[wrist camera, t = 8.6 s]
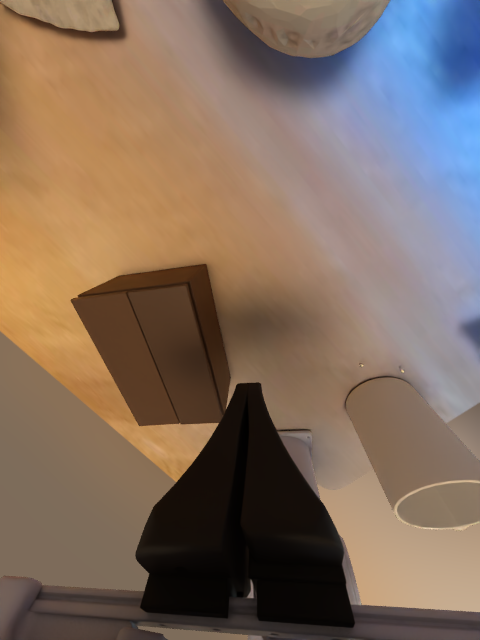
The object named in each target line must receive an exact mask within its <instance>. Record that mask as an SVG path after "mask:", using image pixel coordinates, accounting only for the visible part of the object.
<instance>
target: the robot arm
mask: <svg viewBox="0 0 480 640" xmlns="http://www.w3.org/2000/svg"><path fill="white" fill-rule="evenodd" d="M136 559H137V561H138V562H139V564H141V566H142V567H143V568H144V569H145V570H146V571H147V572H148V573H149V577H148V581H147V584H146V588H145V591H128V590H111V589H96V588H80V587H63V586H48V585H42V583H41V582H39V581H38V580H35V579H33V578H28V577H16V576H3V577H1V578H0V640H167V639H166V638H165V637H164V636H163V634H160V633H155V632H150V631H145V630H140V629H138V627H137V626H149V627H160V628H172V629H184V630H196V631H208V632H219V633H231V634H243V635H248V640H480V612H466V611H450V610H434V609H418V608H402V607H386V606H369V605H361V600H360V596H359V592H358V588H357V584H356V580H355V576H354V572H353V569H352V565H351V561H350V558H349V555H348V552H347V548H346V545H345V543H344V540H343V538H342V537H341V536H340V535H339V534H338V532H337V530H336V527H335V525H334V524H333V521H332V519H331V517H330V515H329V513H328V511H327V510H326V508H325V506H324V504H323V503H322V502H321V500H320V496H319V492H318V487H317V483H316V479H315V474H314V470H313V465H312V433H311V431H308V430H306V431H277V430H276V428H275V426H274V424H273V422H272V420H271V417H270V415H269V412H268V410H267V407H266V404H265V401H264V398H263V394H262V388H261V383H259V382H256V383H240V384H237V385H236V388H235V391H234V394H233V396H232V398H231V401H230V403H229V405H228V407H227V409H226V411H225V413H224V415H223V417H222V419H221V421H220V423H219V424H218V426H217V428H216V430H215V431H214V433H213V435H212V436H211V438H210V439H209V441H208V442H207V444H206V445H205V447H204V448H203V450H202V451H201V452H200V454H199V455H198V457H197V458H196V459H195V461H194V462H193V463H192V465H191V466H190V467H189V468H188V469H187V471H186V472H185V473H184V474H183V475H182V477H181V478H180V479H179V480H178V481H177V482H176V484H175V485H174V486H173V487H172V488H171V489H170V490H169V491H168V492H167V493H166V494H165V495H164V496H163V497H162V499H161V500H160V501H159V502H158V503H157V504H156V505H155V506H154V507H153V510H152V512H151V514H150V516H149V518H148V520H147V523H146V525H145V527H144V530H143V533H142V536H141V539H140V542H139V545H138V547H137V550H136Z"/></svg>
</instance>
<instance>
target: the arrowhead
mask: <svg viewBox="0 0 480 640" xmlns="http://www.w3.org/2000/svg"><path fill="white" fill-rule="evenodd" d="M0 3H2V4H4V5H5V6H7V7H9V8H11V9H12V10H14V11H15V12H16V13H18V14H20V15H24V16H28V17H33V18H36V19H39V20H41V21H44V22H49V23H51V24H53V25H55V26H57V27H60V28H64V29H66V28H72V29H76V30H79V31H83V30H84V31H89V32H94V31H99V30H103V31H107V30H110V31H116V30H118V28H119V22H118V19H117V16H116V13H115V11H114V8H113V4H112V0H0Z"/></svg>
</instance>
